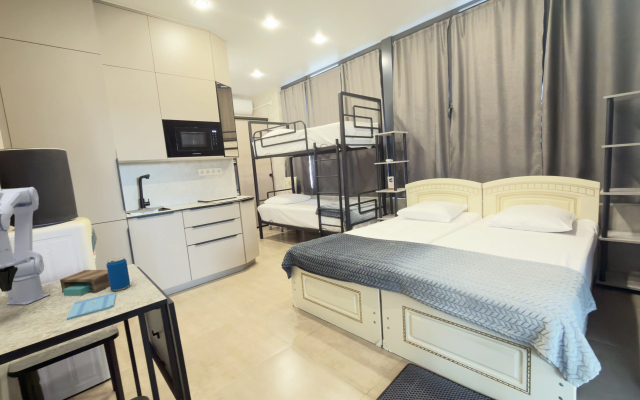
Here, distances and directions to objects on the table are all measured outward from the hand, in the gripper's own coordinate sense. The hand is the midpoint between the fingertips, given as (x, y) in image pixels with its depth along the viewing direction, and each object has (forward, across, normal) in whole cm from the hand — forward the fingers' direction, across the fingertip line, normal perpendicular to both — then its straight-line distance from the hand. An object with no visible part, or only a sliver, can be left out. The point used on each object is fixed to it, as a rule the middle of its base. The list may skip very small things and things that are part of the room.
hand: (6, 290), depth 92 cm
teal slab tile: (+10, +20, -5) cm, 23 cm away
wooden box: (+9, +23, -5) cm, 25 cm away
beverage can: (+10, +22, -20) cm, 31 cm away
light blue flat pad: (+10, +8, -23) cm, 26 cm away
